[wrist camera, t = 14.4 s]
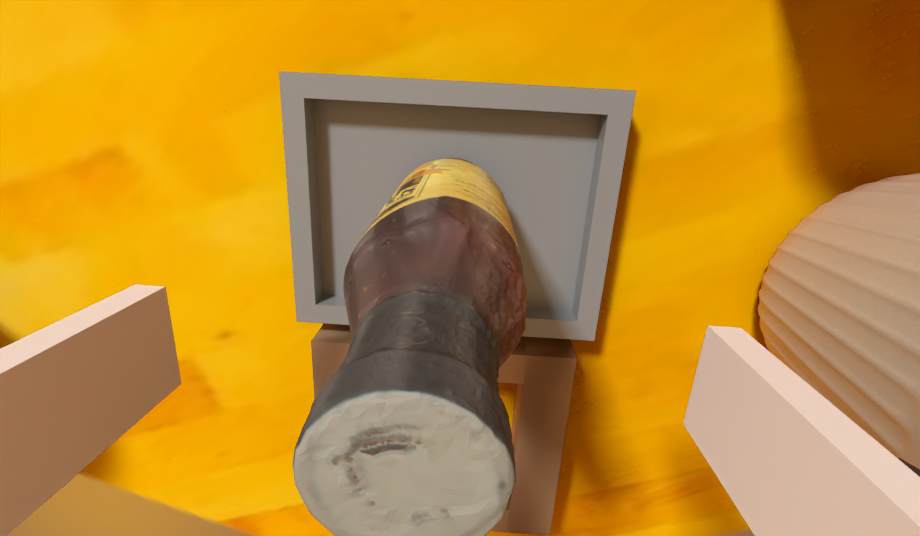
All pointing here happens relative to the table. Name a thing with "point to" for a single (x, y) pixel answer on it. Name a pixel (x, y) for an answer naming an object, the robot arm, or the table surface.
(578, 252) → the tray
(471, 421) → the sauce bottle
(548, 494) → the bottle stand
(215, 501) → the table surface
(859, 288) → the canister
